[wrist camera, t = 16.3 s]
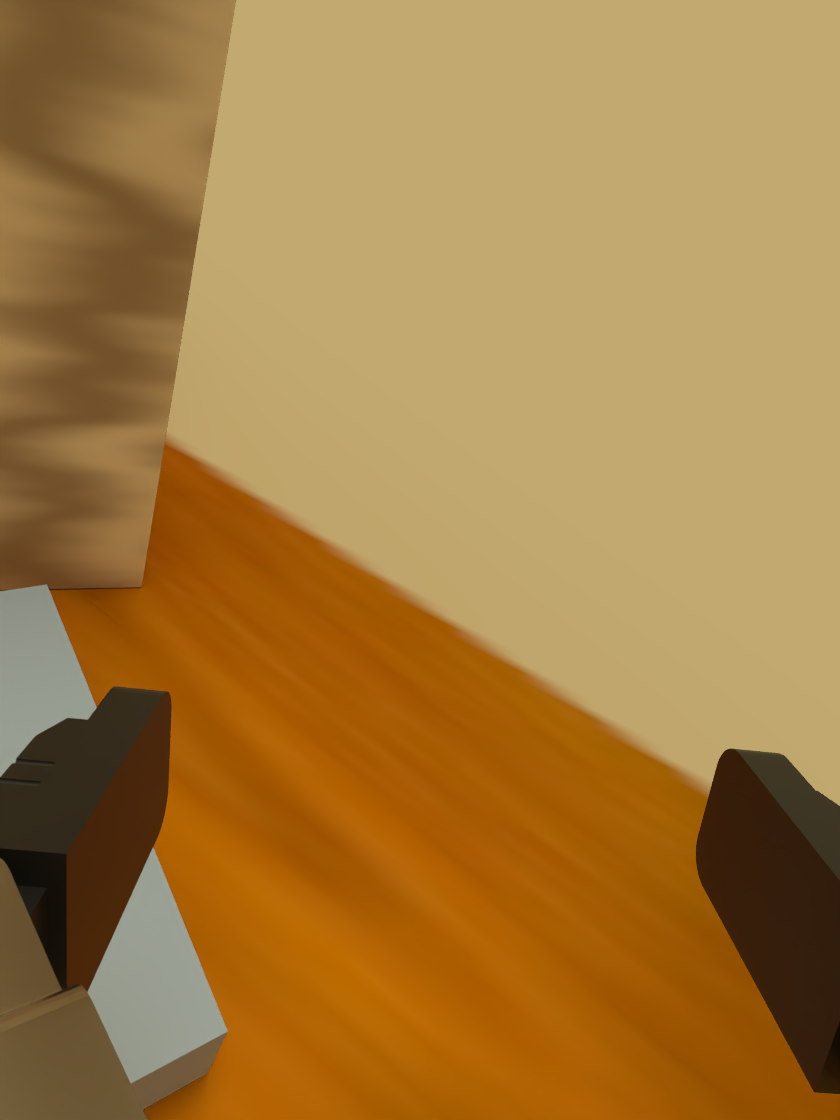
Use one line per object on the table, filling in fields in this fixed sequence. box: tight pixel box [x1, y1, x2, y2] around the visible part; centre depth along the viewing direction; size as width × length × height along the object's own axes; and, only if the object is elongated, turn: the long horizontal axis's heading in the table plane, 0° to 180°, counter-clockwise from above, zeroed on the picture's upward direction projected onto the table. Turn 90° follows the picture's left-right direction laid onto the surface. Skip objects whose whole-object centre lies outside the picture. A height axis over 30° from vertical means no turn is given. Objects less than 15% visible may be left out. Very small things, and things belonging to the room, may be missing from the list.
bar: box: [0, 585, 228, 1109], centre depth 21 cm, size 3×14×3 cm, turn 34°
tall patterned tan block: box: [0, 0, 236, 590], centre depth 20 cm, size 7×6×35 cm
